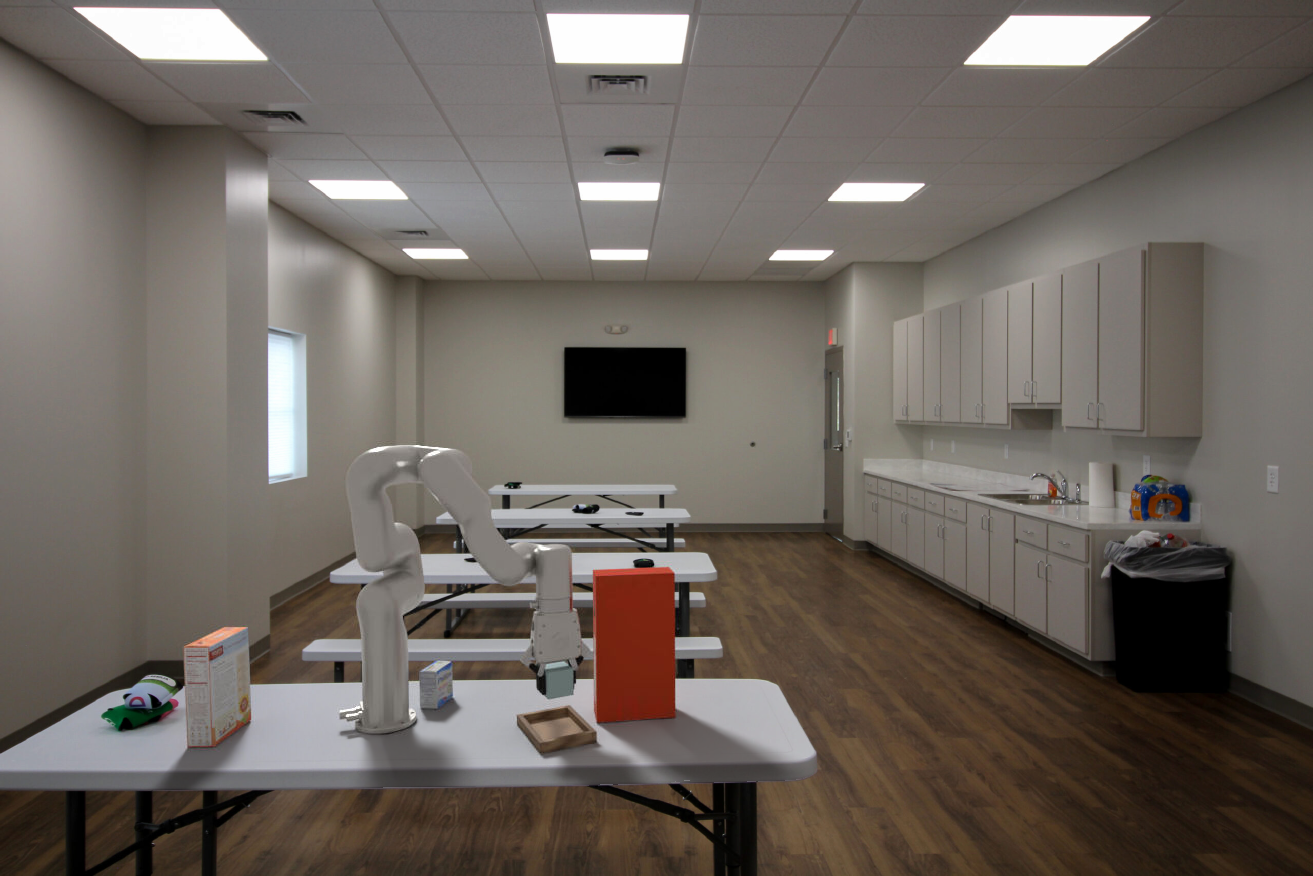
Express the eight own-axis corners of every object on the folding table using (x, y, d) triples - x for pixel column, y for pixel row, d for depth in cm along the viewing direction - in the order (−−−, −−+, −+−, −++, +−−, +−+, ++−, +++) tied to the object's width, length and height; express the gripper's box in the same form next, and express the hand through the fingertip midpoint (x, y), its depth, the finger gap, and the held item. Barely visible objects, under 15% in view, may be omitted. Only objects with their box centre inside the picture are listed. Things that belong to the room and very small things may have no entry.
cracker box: (225, 720, 168) (223, 625, 168) (252, 720, 168) (250, 626, 168) (184, 748, 154) (181, 645, 154) (213, 748, 154) (211, 645, 154)
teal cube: (548, 699, 157) (547, 673, 157) (539, 691, 162) (539, 665, 162) (573, 694, 159) (573, 668, 159) (564, 686, 164) (564, 661, 164)
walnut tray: (539, 754, 151) (539, 743, 151) (516, 724, 165) (516, 714, 165) (596, 742, 156) (596, 731, 156) (569, 714, 171) (569, 705, 171)
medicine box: (437, 710, 174) (436, 672, 174) (419, 708, 175) (418, 670, 175) (453, 697, 182) (452, 661, 181) (435, 696, 183) (435, 659, 182)
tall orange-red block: (593, 709, 174) (592, 569, 173) (668, 704, 176) (668, 566, 175) (596, 724, 166) (595, 576, 165) (675, 718, 169) (674, 573, 167)
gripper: (519, 613, 153) (521, 704, 153) (599, 603, 160) (601, 689, 161) (509, 605, 159) (511, 692, 160) (586, 595, 167) (588, 678, 168)
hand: (556, 689), depth 160 cm, fingers closed on teal cube, 5 cm apart
